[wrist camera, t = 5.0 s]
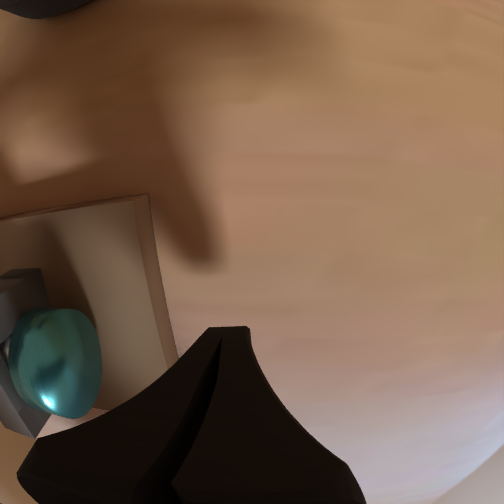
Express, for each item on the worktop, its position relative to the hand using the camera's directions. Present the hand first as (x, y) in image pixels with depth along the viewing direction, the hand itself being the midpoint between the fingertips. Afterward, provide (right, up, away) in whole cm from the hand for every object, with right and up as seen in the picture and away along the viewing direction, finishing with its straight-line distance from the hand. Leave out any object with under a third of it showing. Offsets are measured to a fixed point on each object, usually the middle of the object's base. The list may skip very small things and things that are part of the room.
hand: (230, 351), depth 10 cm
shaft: (-13, -1, +2) cm, 13 cm away
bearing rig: (-13, 0, +4) cm, 13 cm away
